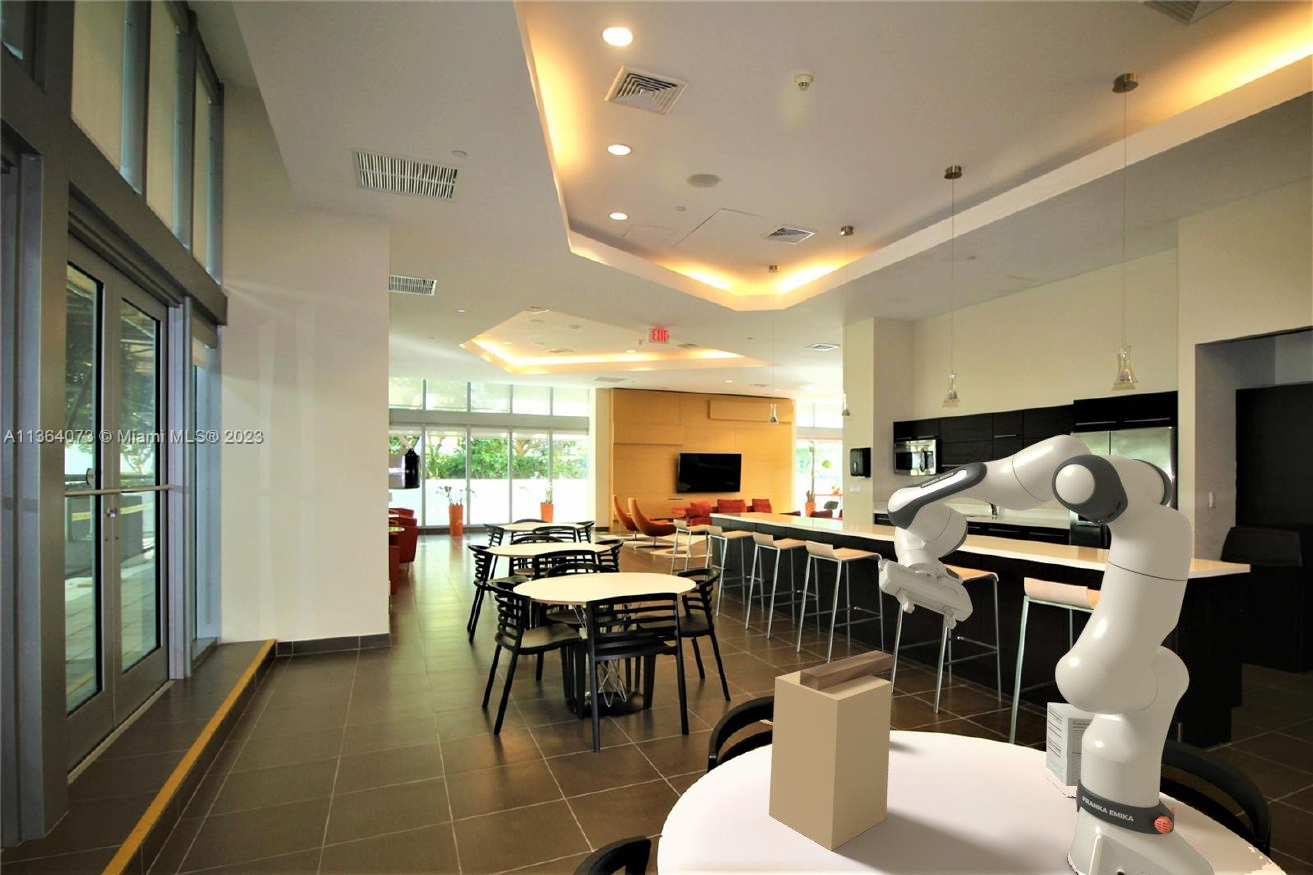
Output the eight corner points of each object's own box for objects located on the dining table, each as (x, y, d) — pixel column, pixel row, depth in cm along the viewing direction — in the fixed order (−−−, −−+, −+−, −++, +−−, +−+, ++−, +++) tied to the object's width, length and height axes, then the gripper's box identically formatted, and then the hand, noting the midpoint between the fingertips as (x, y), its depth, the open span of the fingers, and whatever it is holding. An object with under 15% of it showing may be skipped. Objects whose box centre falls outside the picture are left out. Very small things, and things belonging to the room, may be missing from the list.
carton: (886, 818, 126) (892, 682, 127) (831, 851, 114) (837, 700, 115) (825, 788, 137) (831, 662, 138) (768, 814, 125) (775, 677, 126)
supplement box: (1088, 780, 147) (1091, 704, 147) (1113, 802, 138) (1115, 720, 138) (1043, 776, 148) (1046, 700, 148) (1065, 797, 139) (1067, 716, 139)
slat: (892, 667, 137) (893, 655, 137) (817, 690, 120) (818, 676, 120) (875, 662, 140) (875, 650, 140) (799, 684, 123) (800, 670, 123)
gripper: (884, 546, 147) (891, 591, 135) (969, 579, 147) (983, 625, 136) (870, 565, 150) (876, 610, 139) (953, 597, 151) (966, 644, 139)
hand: (930, 618), depth 137 cm, fingers open, 8 cm apart
